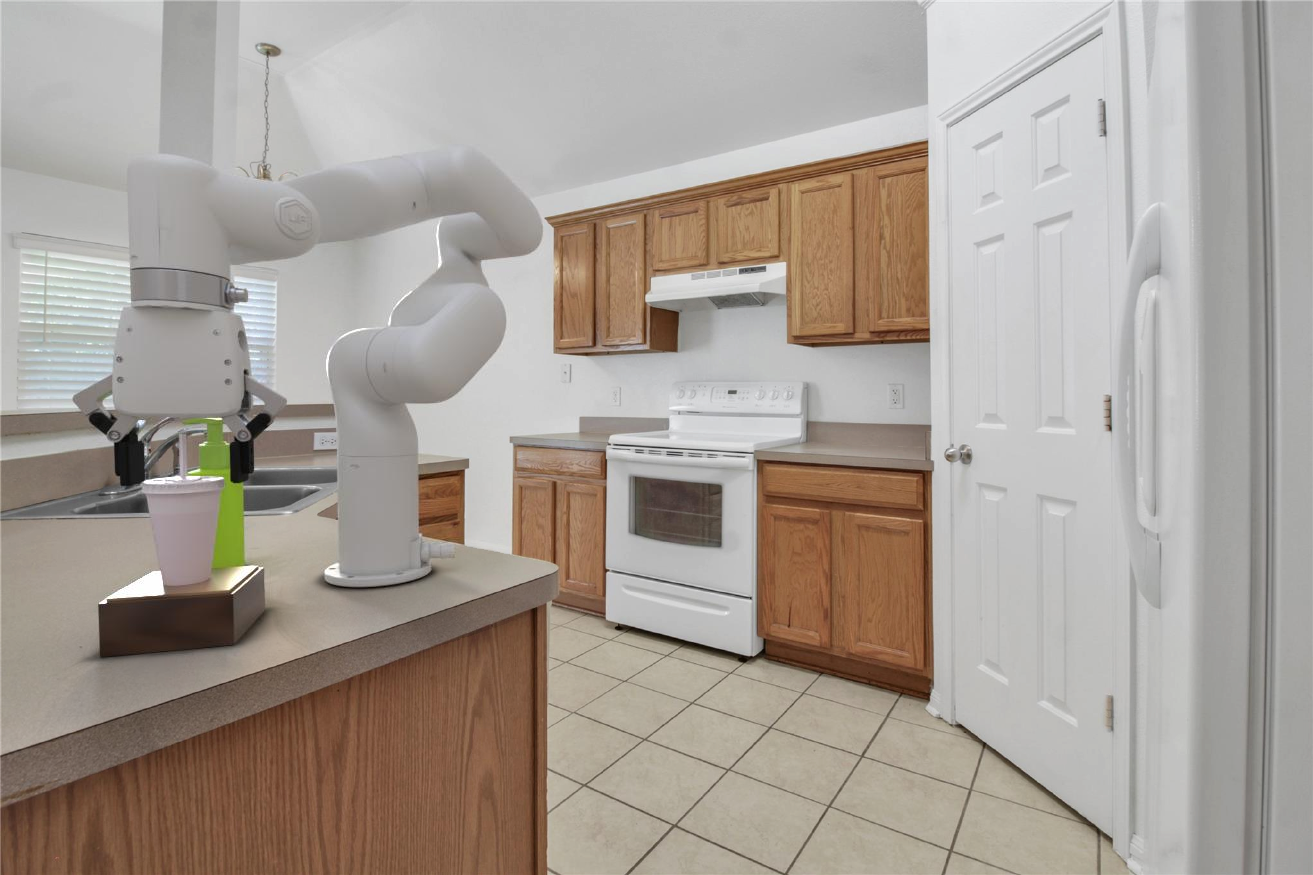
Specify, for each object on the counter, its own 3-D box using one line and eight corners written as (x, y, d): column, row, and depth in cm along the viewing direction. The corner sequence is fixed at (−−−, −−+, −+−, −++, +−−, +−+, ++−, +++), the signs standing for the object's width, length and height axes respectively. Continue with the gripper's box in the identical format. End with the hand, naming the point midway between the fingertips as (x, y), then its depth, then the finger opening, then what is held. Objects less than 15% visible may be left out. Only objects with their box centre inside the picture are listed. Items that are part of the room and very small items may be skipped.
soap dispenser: (209, 564, 86) (206, 417, 85) (255, 566, 85) (252, 418, 84) (170, 575, 80) (166, 418, 79) (219, 577, 79) (215, 418, 78)
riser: (265, 610, 67) (264, 564, 66) (234, 644, 57) (233, 590, 57) (152, 619, 64) (150, 570, 63) (99, 657, 54) (97, 600, 54)
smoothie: (220, 568, 65) (217, 432, 64) (234, 580, 60) (231, 434, 59) (139, 579, 60) (135, 433, 59) (148, 594, 55) (143, 436, 55)
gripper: (296, 308, 65) (299, 476, 66) (90, 297, 60) (96, 481, 61) (277, 296, 58) (281, 485, 59) (41, 283, 53) (49, 491, 53)
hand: (187, 482), depth 60 cm, fingers open, 8 cm apart
